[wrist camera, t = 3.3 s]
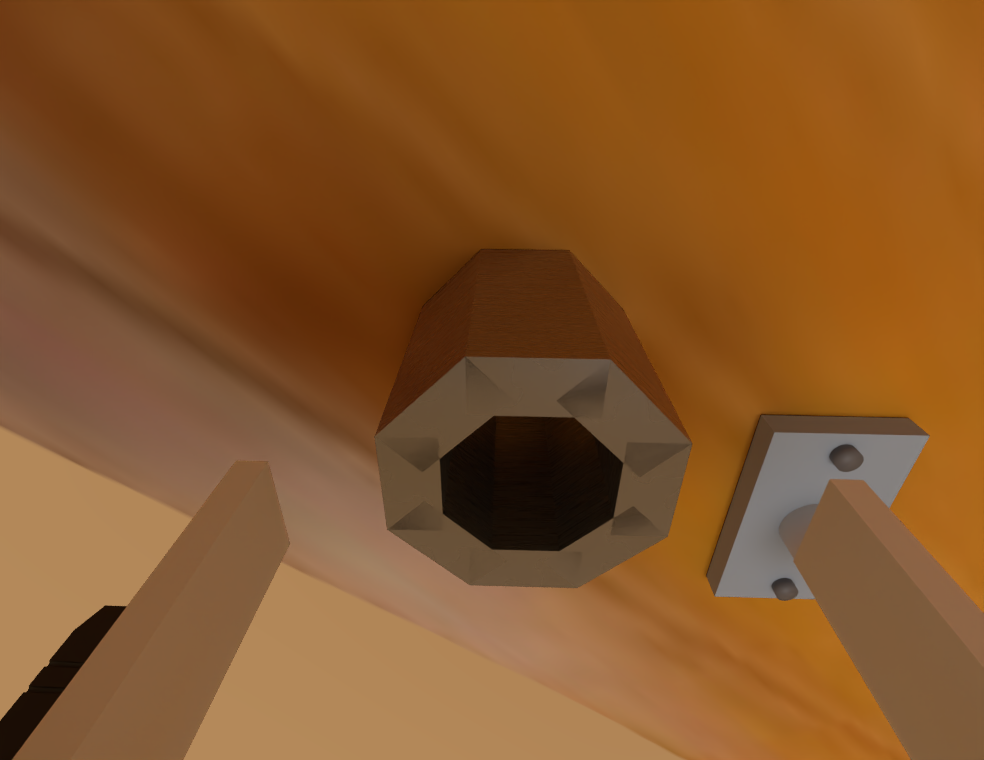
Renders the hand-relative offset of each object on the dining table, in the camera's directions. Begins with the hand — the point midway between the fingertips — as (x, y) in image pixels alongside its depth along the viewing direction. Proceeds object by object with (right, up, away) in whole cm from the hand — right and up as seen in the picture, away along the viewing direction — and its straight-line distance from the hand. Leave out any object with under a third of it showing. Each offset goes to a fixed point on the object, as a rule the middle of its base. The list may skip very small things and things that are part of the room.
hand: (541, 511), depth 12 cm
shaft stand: (+13, -3, +11) cm, 17 cm away
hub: (0, +5, +7) cm, 8 cm away
